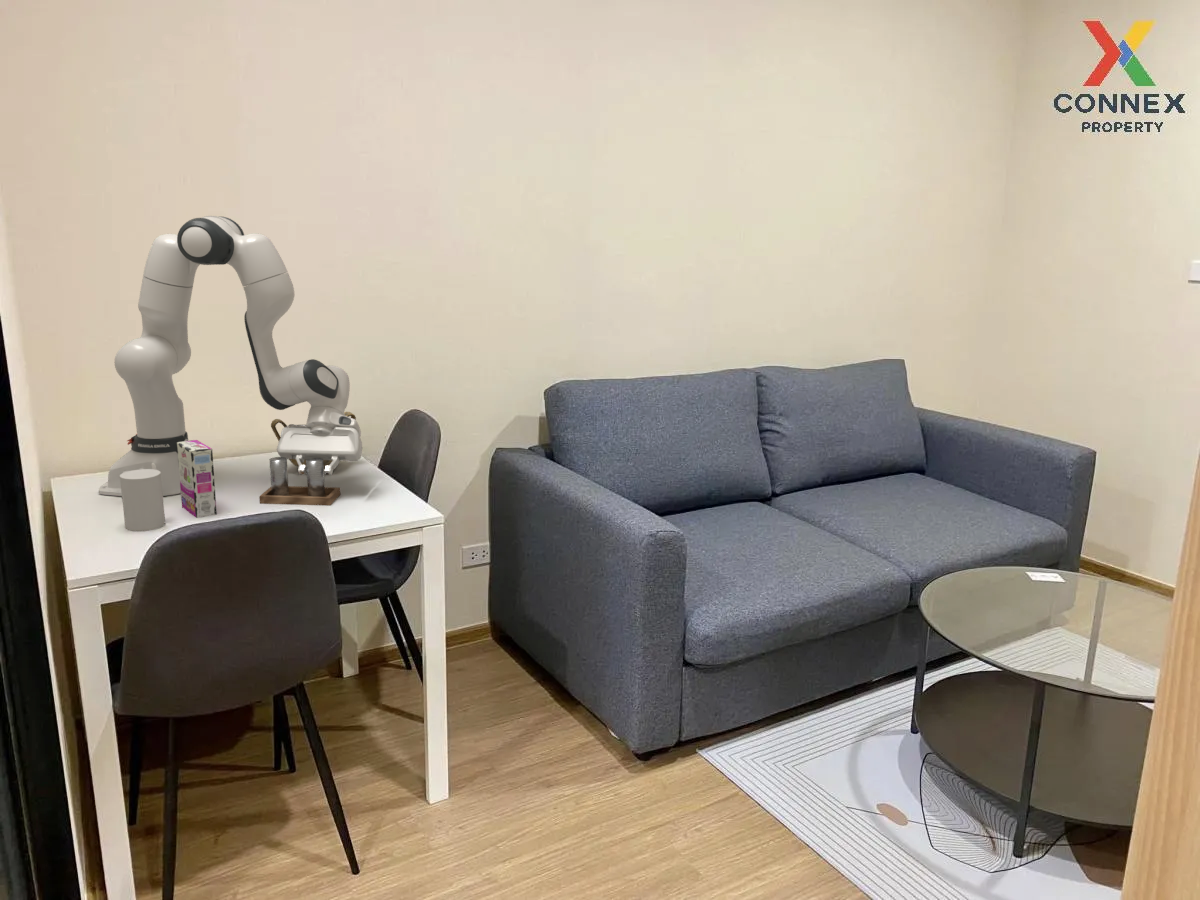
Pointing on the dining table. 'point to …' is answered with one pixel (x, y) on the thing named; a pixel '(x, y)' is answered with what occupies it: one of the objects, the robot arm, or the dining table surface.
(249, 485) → the dining table surface
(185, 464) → the candy bar box
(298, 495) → the tray
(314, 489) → the cylinder
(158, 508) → the cup
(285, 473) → the cylinder
